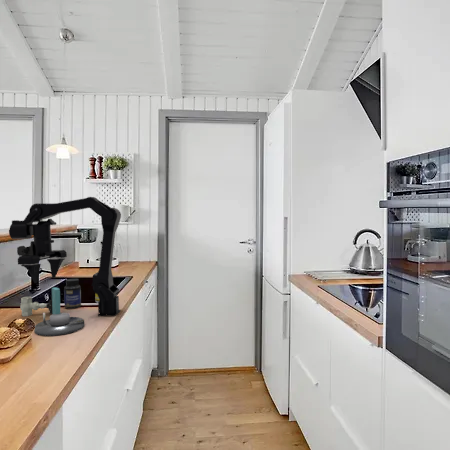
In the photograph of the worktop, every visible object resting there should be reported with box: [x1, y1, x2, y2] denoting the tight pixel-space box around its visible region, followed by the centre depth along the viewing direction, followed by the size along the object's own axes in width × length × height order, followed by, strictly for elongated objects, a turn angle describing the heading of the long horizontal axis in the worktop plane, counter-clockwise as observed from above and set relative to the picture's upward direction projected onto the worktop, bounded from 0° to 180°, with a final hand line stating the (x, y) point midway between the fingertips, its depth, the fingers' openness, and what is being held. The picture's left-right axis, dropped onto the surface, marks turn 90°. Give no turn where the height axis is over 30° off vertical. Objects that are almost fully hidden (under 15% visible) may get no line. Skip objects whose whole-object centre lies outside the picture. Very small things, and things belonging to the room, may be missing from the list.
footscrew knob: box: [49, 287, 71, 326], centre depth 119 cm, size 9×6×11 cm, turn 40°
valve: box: [20, 296, 53, 317], centre depth 134 cm, size 7×7×12 cm
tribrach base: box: [33, 312, 86, 337], centre depth 118 cm, size 15×15×4 cm
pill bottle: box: [63, 278, 82, 310], centre depth 144 cm, size 6×6×11 cm
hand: (45, 280), depth 132 cm, fingers open, 9 cm apart
